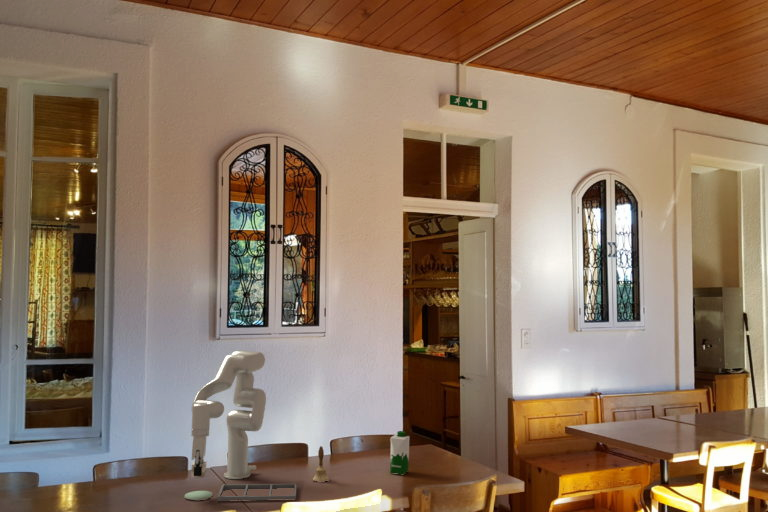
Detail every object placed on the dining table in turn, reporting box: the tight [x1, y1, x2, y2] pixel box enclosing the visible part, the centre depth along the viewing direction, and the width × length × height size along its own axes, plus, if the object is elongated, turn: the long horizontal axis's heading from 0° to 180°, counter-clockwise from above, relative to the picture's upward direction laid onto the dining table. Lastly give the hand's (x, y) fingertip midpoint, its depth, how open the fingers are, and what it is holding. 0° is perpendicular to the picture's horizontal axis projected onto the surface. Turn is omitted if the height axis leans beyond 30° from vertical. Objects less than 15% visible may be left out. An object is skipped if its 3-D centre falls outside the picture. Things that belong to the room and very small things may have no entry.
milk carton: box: [389, 430, 411, 474], centre depth 348 cm, size 9×9×20 cm
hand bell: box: [312, 446, 330, 481], centre depth 333 cm, size 8×8×16 cm
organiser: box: [216, 483, 297, 502], centre depth 308 cm, size 33×18×2 cm, turn 96°
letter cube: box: [190, 461, 207, 479], centre depth 304 cm, size 6×6×6 cm
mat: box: [184, 490, 214, 500], centre depth 305 cm, size 12×12×1 cm
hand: (198, 473), depth 304 cm, fingers closed on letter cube, 5 cm apart
